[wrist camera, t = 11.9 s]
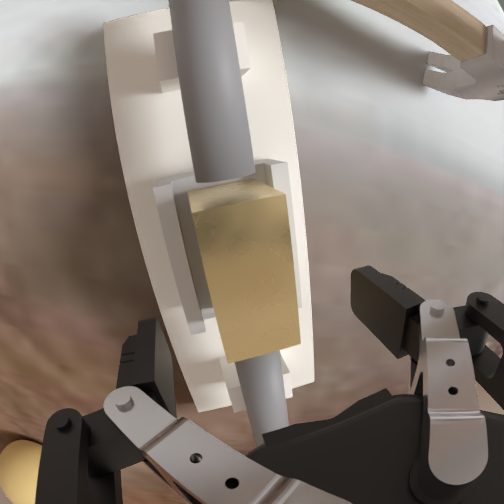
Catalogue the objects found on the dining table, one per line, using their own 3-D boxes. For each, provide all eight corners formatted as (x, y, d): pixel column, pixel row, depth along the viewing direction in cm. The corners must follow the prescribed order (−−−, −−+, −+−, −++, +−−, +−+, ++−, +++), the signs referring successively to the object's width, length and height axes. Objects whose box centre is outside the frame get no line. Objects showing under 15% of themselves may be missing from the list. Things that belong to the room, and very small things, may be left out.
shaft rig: (196, 401, 29) (208, 469, 21) (107, 29, 16) (76, -21, 8) (308, 372, 31) (343, 430, 23) (266, 7, 18) (309, -45, 10)
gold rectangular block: (213, 307, 21) (227, 363, 15) (187, 191, 18) (191, 212, 12) (269, 293, 21) (301, 343, 16) (252, 178, 18) (285, 194, 13)
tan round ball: (49, 479, 30) (42, 533, 20) (-7, 434, 25) (-25, 491, 15) (98, 472, 30) (96, 536, 21) (37, 423, 26) (19, 494, 16)
